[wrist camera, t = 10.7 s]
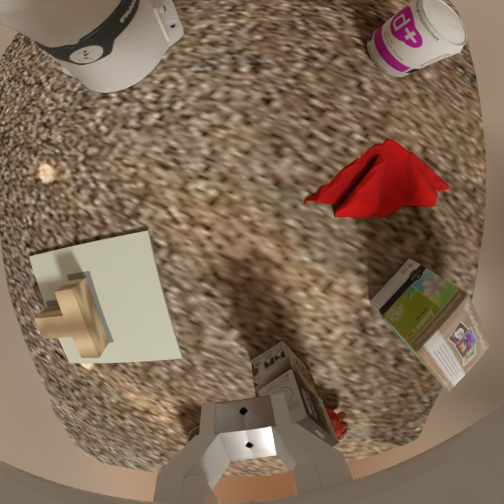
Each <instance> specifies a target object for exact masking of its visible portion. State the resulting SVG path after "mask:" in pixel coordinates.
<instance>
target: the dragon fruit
mask: <svg viewBox="0 0 504 504" xmlns="http://www.w3.org/2000/svg"><path fill="white" fill-rule="evenodd" d="M324 406H325V409H326V411H327V414H328V416H329V419H330V421H331V423H332V426H333V428H334V431H335V433H336V436H337V439H338V440H341V439H343V438H344V435H345V434H346V433H347V429H346V427H348V424H347V423H346V422H344V421H343V420H342V419H343V418H344V417H345V415H346V414H345V413H344V412H340V413H338V414H336V413H335V412H333V411H332V410H331V408H330V407H328V406H327V405H324Z"/></svg>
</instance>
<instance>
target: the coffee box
mask: <svg viewBox="0 0 504 504" xmlns="http://www.w3.org/2000/svg"><path fill="white" fill-rule="evenodd" d="M251 364H252V372H253V380H254V387H255V395H256V397H260V396H266V395H271V394H276V393H282V392H283V393H284V394H285V398H286V402H287V406H288V410H289V414H290V418H291V421H292V423H297V424H299V425H300V426H302V427H303V428H305V429H306V430H307V431H309V432H310V433H312V434H313V435H315V436H316V437H318V438H319V439H321V440H323V441H324V442H326V443H327V444H329V445H330V446H334V445H336V444H338V443H339V441H338V439H337V436H336V433H335V431H334V428H333V426H332V423H331V421H330V419H329V416H328V414H327V411H326V409H325V406H324V404H323V402H322V399H321V397H320V394H319V392H318V390H317V387H316V385H315V383H314V380H313V378H312V375H311V373H310V371H309V370H308V369H307V368H306V366H305V365H304V364H303V363H302V362H301V361H300V360H299V358H298V357H297V356H296V355H295V354H294V353H293V352H292V350H291V349H290V348H289V347H288V346H287V345H286V343H285V342H284V341H281V342H279V343H278V344H276V345H275V346H273V347H271V348H270V349H268V350H266V351H265V352H263V353H261V354H260V355H258V356H257V357H255V358H253V359H252V360H251Z"/></svg>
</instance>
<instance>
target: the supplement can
mask: <svg viewBox="0 0 504 504" xmlns="http://www.w3.org/2000/svg"><path fill="white" fill-rule="evenodd" d="M466 41H467V32H466V30H465V27H464V25H463V23H462V21H461V19H460V18H459V16H458V15H457V14H456V13H455V11H454V10H453V9H452V8H451V7H449V6H448V5H447V4H446V3H445V2H443V1H441V0H413V1H412V2H410V3H409V4H408V5H406V6H405V7H404V8H403V9H401V10H400V11H399V12H398V13H396V14H395V15H394V16H393V17H391V18H390V19H389V20H388V21H387V22H385V23H384V24H383V25H382V26H381V27H379V28H378V29H377V30H376V31H375V32H373V33H372V34H371V36H370V37H369V38H368V42H367V48H368V53H369V55H370V57H371V59H372V60H373V62H374V63H375V64H376V65H377V66H378V67H379V69H381V70H382V71H384V72H385V73H387V74H389V75H391V76H394V77H403V76H406V75H408V74H410V73H412V72H414V71H416V70H419V69H421V68H423V67H425V66H428V65H430V64H432V63H435V62H437V61H439V60H442V59H444V58H446V57H449V56H451V55H454V54H456V53H459V52H461V50H462V48H463V45H465V43H466Z"/></svg>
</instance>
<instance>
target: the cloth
mask: <svg viewBox="0 0 504 504" xmlns="http://www.w3.org/2000/svg"><path fill="white" fill-rule="evenodd" d="M361 180H362V181H361ZM360 181H361V182H360ZM359 182H360V183H359ZM358 183H359V184H358ZM357 184H358V186H357V187H356V188H355V189H354V190H353V191H352V192H351V194H350V195H349V196H348V194H349V193H350V191H351V190H352V189H353V188H354V187H355V186H356V185H357ZM447 189H449V187H448V186H447V185H446V184H445V183H444V182H443V181H442V180H441V179H440V178H439V177H438V176H437V175H436V174H435V173H434V172H433V171H432V170H431V169H430V168H429V167H428V166H427V165H426V164H425V163H423V162H422V161H421V160H420V159H419V158H418V157H417V156H416V155H415V154H414V153H412V152H408V151H407V150H406V149H405V148H404V147H402V146H401V145H400V144H399V143H397V142H395V141H393V140H390V139H386V140H385V142H384V143H383V144H377V145H376V146H374V147H372V148H370V149H369V150H367V152H365V153H364V154H363V155H362V156H361V158H360V159H359V158H357V159H356V160H354V161H353V162H352V163H351V164H350V165H349V166H347V167H346V168H344V169H343V171H342V172H340V173H339V174H338V175H336V176H335V177H334V179H333V180H332V181H331V182H330V183H329V184H325V185H324V186H323V187H322V188H321V189H320V190H319V191H318V192H317V193H316V194H315V196H313V197H310V198H308V199H307V200H306V201H305V202H304V204H305V203H306V202H307V201H315V202H320V203H325V204H332V205H340V206H339V207H338V208H337V209H336V213H335V215H334V217H356V218H370V217H373V216H374V217H377V218H383V217H385V216H387V215H389V214H391V213H393V212H395V211H397V210H399V209H401V208H402V206H403V205H406V206H422V207H434V206H435V203H436V199H437V196H438V194H437V191H442V190H447ZM436 190H437V191H436ZM347 196H348V197H347ZM346 197H347V198H346ZM345 198H346V199H345Z"/></svg>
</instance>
